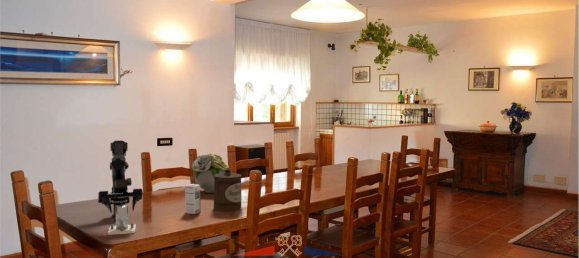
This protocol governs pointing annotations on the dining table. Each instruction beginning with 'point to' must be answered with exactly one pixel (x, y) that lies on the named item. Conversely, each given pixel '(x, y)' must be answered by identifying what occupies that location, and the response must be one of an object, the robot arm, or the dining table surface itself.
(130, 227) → the pin tray
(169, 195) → the dining table surface
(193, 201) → the syrup box
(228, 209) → the wooden container
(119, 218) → the steel canister
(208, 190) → the flower arrangement
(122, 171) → the robot arm
